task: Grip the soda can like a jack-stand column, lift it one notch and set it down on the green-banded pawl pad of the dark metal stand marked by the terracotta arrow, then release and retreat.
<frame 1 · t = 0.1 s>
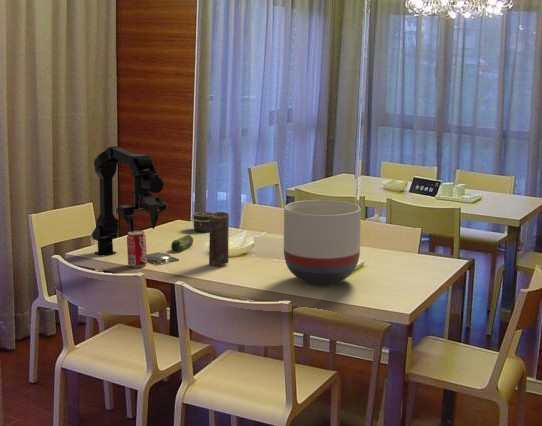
hand: (142, 230, 307), 15 cm above the table, fingers open, 9 cm apart
soda can: (137, 266, 313), on the table
jar: (204, 231, 370), on the table
planter: (321, 282, 293), on the table
vegetable: (183, 249, 338), on the table
pawl stand: (158, 259, 322), on the table
candle: (219, 265, 314), on the table
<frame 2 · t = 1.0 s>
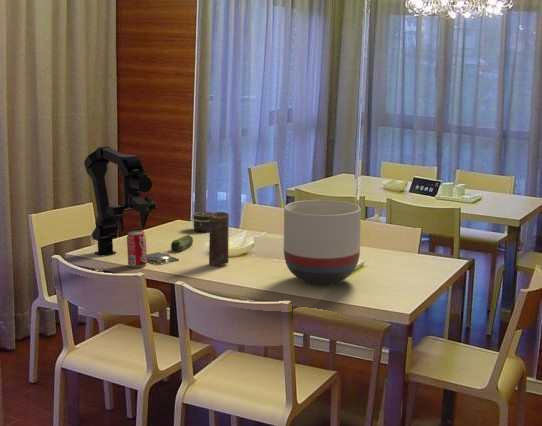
hand: (132, 229, 312), 14 cm above the table, fingers open, 9 cm apart
nothing on the table moved.
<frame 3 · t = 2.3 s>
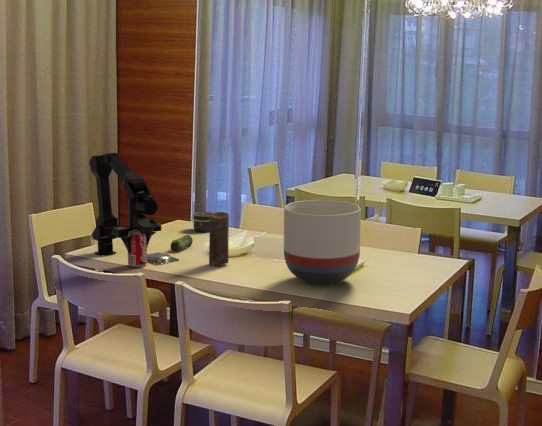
hand: (137, 251, 311), 6 cm above the table, fingers closed on soda can, 6 cm apart
soda can: (137, 266, 313), on the table, touching gripper
everything else where it was.
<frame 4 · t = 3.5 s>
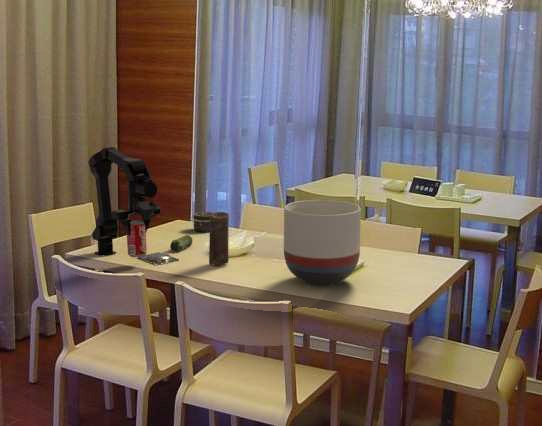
hand: (137, 234, 310), 12 cm above the table, fingers closed on soda can, 6 cm apart
soda can: (137, 256, 312), point 4 cm above the table, touching gripper
everything else where it was.
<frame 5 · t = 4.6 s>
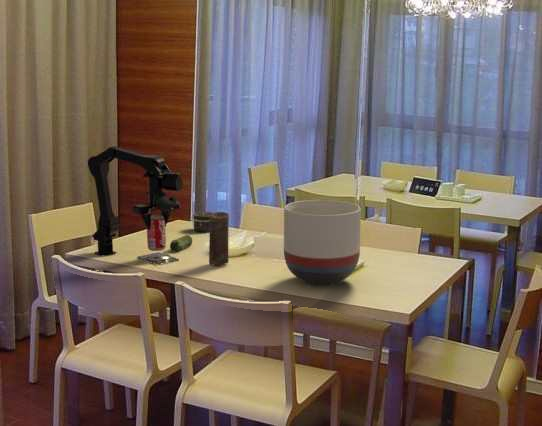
hand: (156, 228, 319), 12 cm above the table, fingers closed on soda can, 6 cm apart
soda can: (156, 249, 321), point 4 cm above the table, touching gripper
everything else where it was.
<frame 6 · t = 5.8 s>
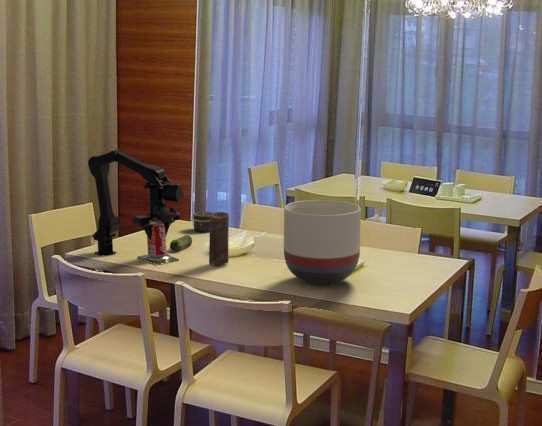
hand: (157, 239, 320), 8 cm above the table, fingers closed on soda can, 6 cm apart
soda can: (157, 256, 322), point 1 cm above the table, touching gripper, pawl stand
everything else where it was.
when the fingers open (8 cm above the table, at t = 5.8 s): soda can stays where it is, resting on pawl stand.
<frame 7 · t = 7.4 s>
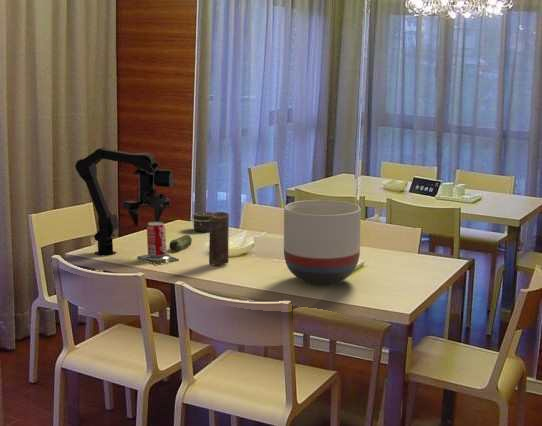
hand: (146, 224, 324), 13 cm above the table, fingers open, 9 cm apart
soda can: (157, 256, 322), point 1 cm above the table, touching pawl stand
everything else where it was.
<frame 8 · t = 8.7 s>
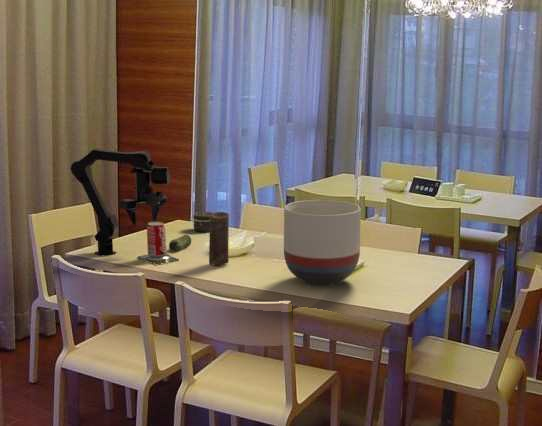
hand: (144, 222, 326), 13 cm above the table, fingers open, 9 cm apart
nothing on the table moved.
at the end: soda can 0.6 cm from the pawl stand (horizontally); soda can tilted 0°; soda can point 1.1 cm above the table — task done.
